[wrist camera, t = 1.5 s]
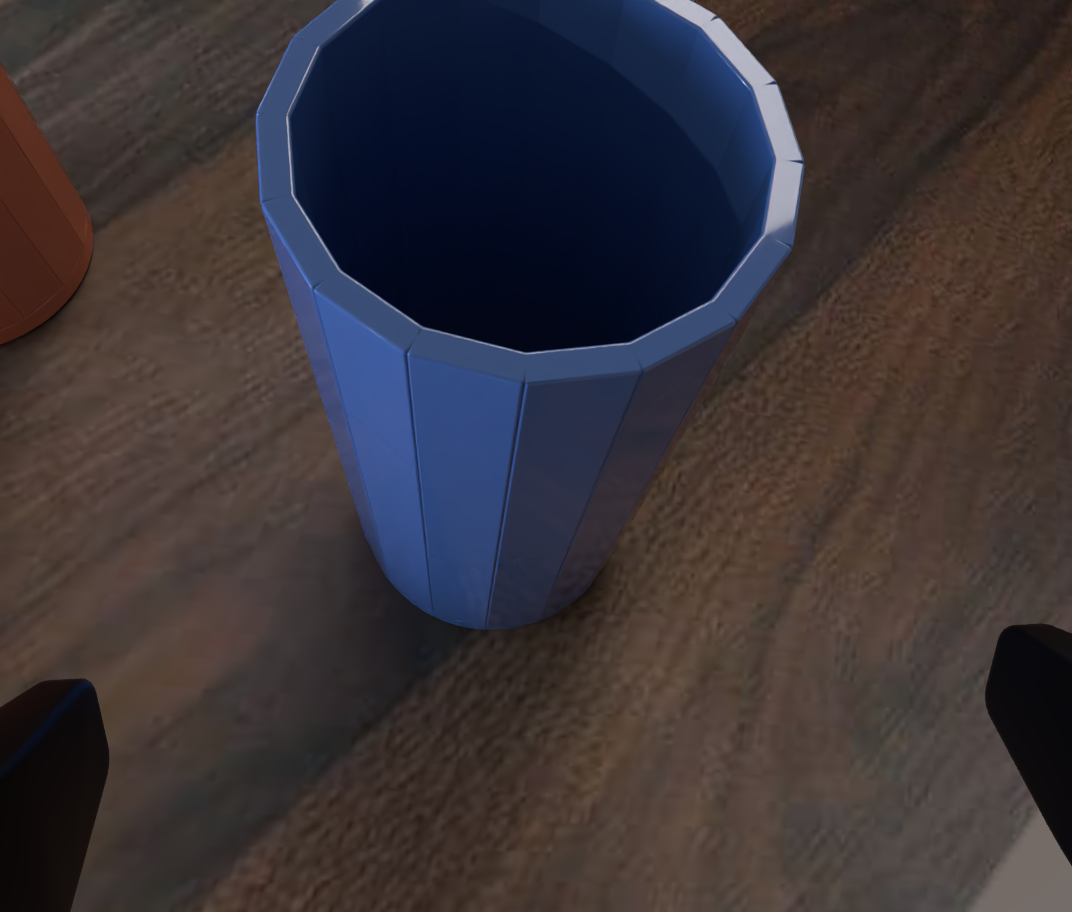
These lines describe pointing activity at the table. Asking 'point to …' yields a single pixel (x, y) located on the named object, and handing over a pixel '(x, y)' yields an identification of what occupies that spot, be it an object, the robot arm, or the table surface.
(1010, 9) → the table surface
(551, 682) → the table surface
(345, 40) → the blue cup
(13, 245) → the terracotta cup
